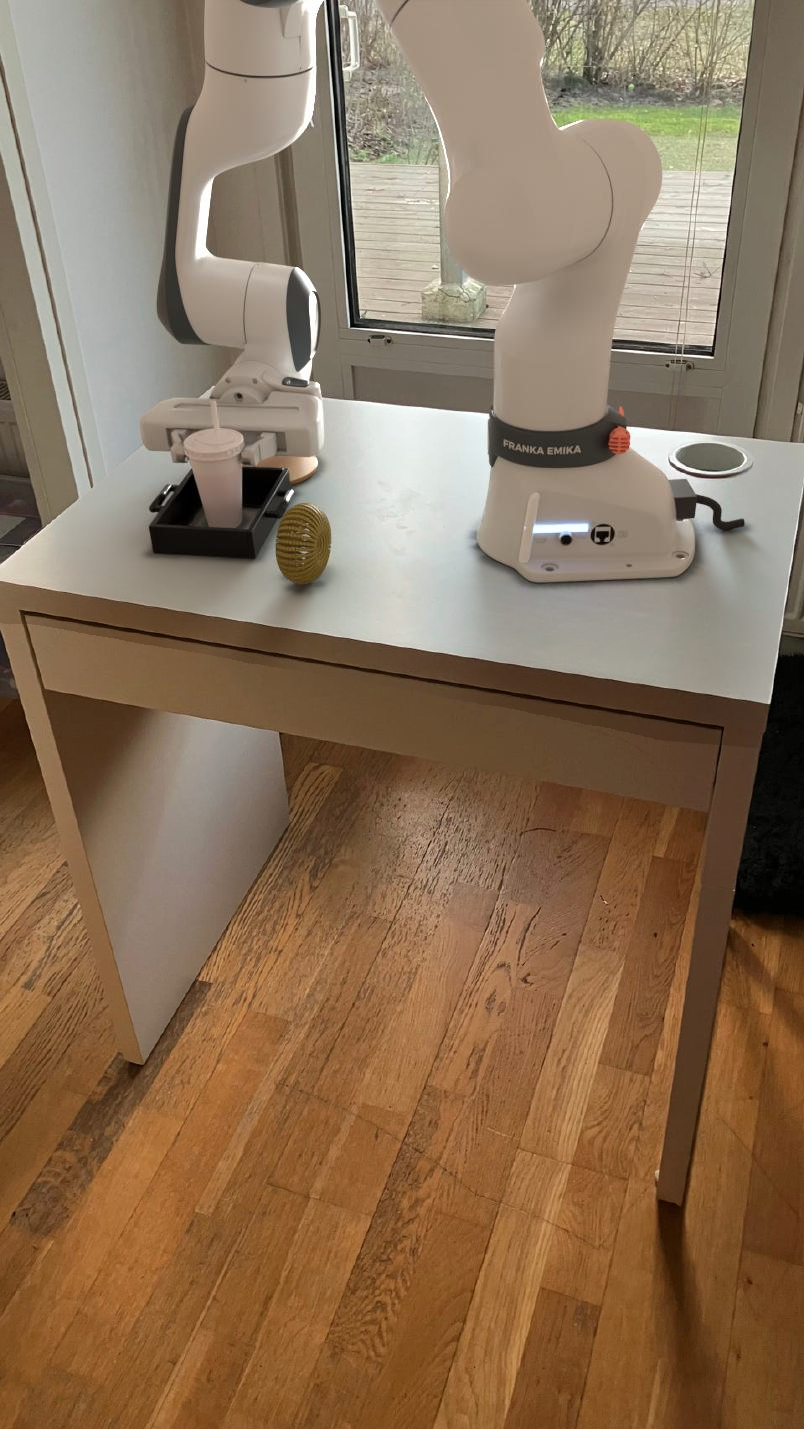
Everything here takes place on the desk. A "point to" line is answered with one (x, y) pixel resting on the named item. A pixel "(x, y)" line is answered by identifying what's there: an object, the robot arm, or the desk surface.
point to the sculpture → (303, 543)
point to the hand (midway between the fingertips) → (213, 458)
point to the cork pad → (292, 466)
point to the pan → (180, 538)
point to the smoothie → (218, 472)
